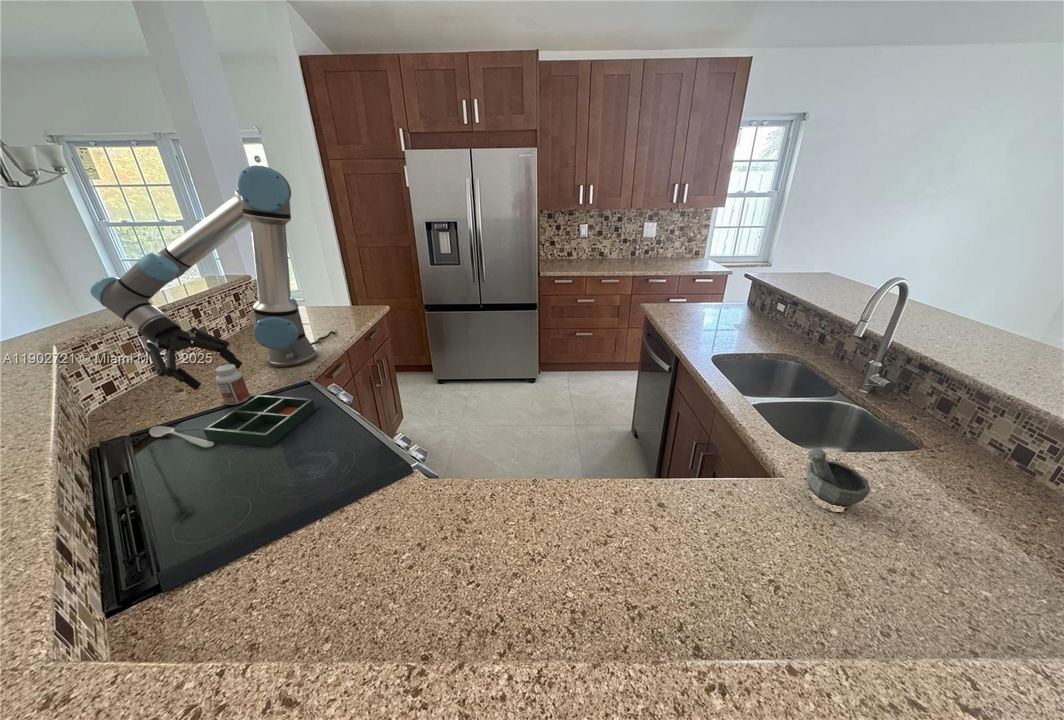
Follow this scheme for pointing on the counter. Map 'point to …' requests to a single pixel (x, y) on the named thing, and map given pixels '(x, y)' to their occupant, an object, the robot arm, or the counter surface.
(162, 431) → the spoon
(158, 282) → the robot arm
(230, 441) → the grid
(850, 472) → the mortar and pestle
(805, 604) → the counter surface
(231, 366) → the pill bottle
